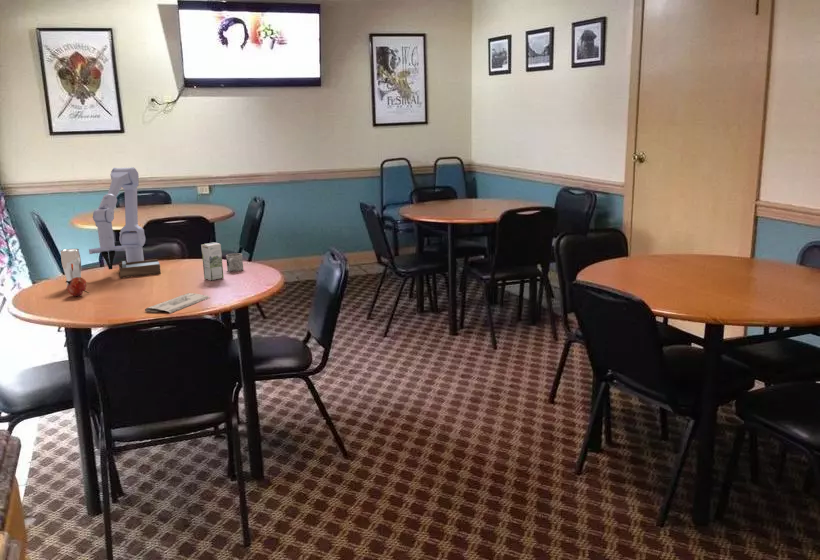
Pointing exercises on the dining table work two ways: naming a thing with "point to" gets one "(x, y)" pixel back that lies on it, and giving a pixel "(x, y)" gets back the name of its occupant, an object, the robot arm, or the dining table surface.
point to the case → (139, 269)
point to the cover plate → (137, 264)
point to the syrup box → (212, 261)
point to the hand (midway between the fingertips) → (110, 268)
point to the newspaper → (177, 303)
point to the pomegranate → (76, 286)
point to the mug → (234, 262)
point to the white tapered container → (71, 263)
